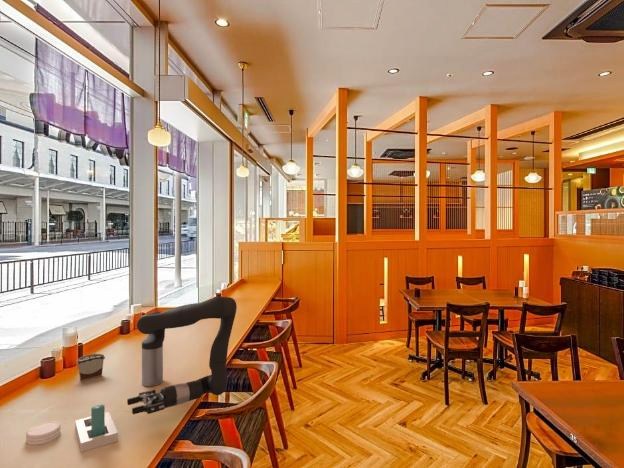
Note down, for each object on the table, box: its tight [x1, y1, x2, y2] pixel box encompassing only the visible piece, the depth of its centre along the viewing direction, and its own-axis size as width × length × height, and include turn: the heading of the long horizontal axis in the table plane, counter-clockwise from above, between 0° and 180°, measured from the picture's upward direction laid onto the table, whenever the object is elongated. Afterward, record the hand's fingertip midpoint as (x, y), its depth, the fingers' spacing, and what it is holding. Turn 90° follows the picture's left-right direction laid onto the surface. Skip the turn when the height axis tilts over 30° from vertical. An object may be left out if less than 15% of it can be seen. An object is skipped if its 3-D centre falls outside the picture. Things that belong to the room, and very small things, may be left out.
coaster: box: [25, 420, 62, 446], centre depth 134 cm, size 10×10×4 cm
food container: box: [76, 353, 106, 382], centre depth 188 cm, size 12×6×10 cm, turn 134°
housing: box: [74, 411, 119, 453], centre depth 136 cm, size 18×11×3 cm, turn 37°
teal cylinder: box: [90, 404, 106, 438], centre depth 132 cm, size 4×4×11 cm
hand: (129, 406), depth 138 cm, fingers open, 8 cm apart
